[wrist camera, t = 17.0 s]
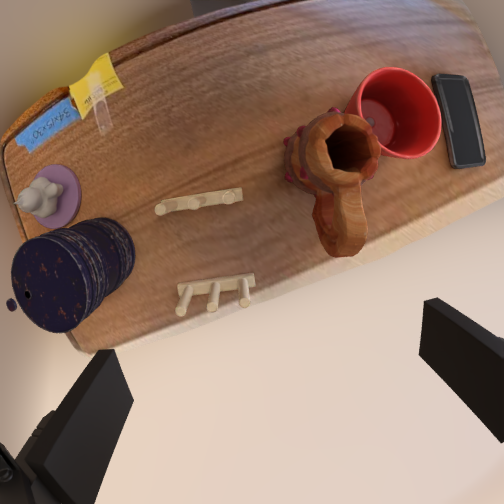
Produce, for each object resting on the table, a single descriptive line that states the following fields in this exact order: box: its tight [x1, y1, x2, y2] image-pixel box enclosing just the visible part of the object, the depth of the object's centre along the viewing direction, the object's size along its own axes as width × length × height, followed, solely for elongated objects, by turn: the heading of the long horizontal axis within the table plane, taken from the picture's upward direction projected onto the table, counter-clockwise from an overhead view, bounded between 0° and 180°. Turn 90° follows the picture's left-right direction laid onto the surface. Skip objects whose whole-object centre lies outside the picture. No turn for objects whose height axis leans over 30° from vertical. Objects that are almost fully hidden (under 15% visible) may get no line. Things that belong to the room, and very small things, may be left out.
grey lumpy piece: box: [14, 177, 63, 218], centre depth 32 cm, size 5×7×8 cm
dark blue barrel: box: [6, 218, 135, 333], centre depth 30 cm, size 10×10×18 cm
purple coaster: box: [33, 164, 81, 229], centre depth 37 cm, size 9×9×1 cm
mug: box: [284, 107, 381, 258], centre depth 31 cm, size 15×8×15 cm, turn 2°
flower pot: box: [344, 67, 441, 159], centre depth 32 cm, size 11×11×10 cm
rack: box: [155, 187, 255, 316], centre depth 36 cm, size 13×10×8 cm
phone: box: [432, 74, 486, 169], centre depth 37 cm, size 8×1×15 cm
